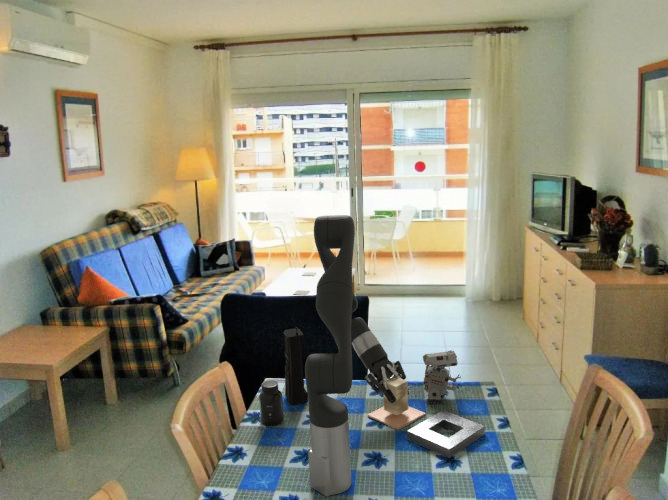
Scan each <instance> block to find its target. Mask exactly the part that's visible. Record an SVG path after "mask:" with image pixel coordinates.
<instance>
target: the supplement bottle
mask: <svg viewBox="0 0 668 500" xmlns="http://www.w3.org/2000/svg"><path fill="white" fill-rule="evenodd" d="M260 387H261V388H260V389H261V391H260V393H259V395H258V402H259V403H258V404H259V415H260V416H259V417H260V423H261V424H262V425H263V426H264V427H269V428H271V427H276V426H279V425H281V424H283V422H284V420H285V415H284V402H283V401H284V399H283V393H282V391H281V390H279V383H278V381H276V380H266V381H263V382H262V383H261V386H260Z"/></svg>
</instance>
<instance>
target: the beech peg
mask: <svg viewBox="0 0 668 500" xmlns="http://www.w3.org/2000/svg"><path fill="white" fill-rule="evenodd" d="M387 380H388V381H387V385H388V387H389V389H390V390H391V392H392V393H393V395H394V396H395V398H396V401H395V402H394V403H391V402H389V401H388V399H387V398H386V396H385V395H384V394H383V406H384V410H385V411H387V412H390V413H392V414H394V415H399V414H401V413H403V412H404V411H406V410H408V406H409V394H408V391H409V389H408V387H409V386H408V380H406V379H405V380H403V379H400V378H395V377H392V378H390V379H387ZM383 386H384V385H383Z"/></svg>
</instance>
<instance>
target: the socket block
mask: <svg viewBox="0 0 668 500" xmlns="http://www.w3.org/2000/svg"><path fill="white" fill-rule="evenodd" d="M442 429H445V430H448V431H451V432H453V433H454V434H453V435H451V436H449V437H448V436H445V435H443V434H441V433H439V431H440V430H442ZM485 429H486V427H485V425H483V424H481V423H478V422H475V421H472V420H470V419H467V418H464V417H462V416H459V415H457V414H455V413H451V412H449V411H447V410H444V409H442V410H441V411H438V412H437V413H436V414H433V415H432V416H431V417H428V418H427V419H425V420H424V421H422V422H420V423H417V424H416V425H415V426H413V427H411V428H410V429H408V430H407V431H406V432H407V436H406V437H407V440H409V441H410V442H413V443H415V444H417V445H419V446H422V447H424V448H426V449H428V450H430V451H433V452H435V453H437V454H439V455H442V456H444V457H446V458H448V459H450V458H452V457H453V456H455V455H456V454H458V453H460V452H461V451H462V450H464V449H465V448H467V447H469V446H470V445H471V444H473V443H474V442H475V441H477V440H479V439H480V438H481V437H483V436H484V435H485V434H486V432H485Z"/></svg>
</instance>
